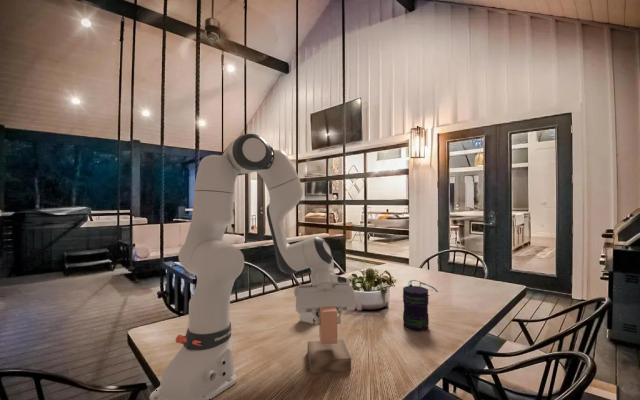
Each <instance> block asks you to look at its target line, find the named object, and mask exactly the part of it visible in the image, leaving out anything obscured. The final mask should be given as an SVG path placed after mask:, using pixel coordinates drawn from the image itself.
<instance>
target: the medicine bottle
mask: <svg viewBox="0 0 640 400" xmlns="http://www.w3.org/2000/svg"><path fill="white" fill-rule="evenodd" d="M316 316H317V317H318V318H319V312H316ZM299 321H300V322H303V323H306V324H307V323H308V324H311V325H315V324H316V323H315V320H314V318H313V317H312V315H311V312H309V313H299Z"/></svg>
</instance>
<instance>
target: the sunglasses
mask: <svg viewBox="0 0 640 400" xmlns="http://www.w3.org/2000/svg"><path fill="white" fill-rule="evenodd" d="M412 282H419V287H422V286H421V285H424V286H427V287H430V288H432V289H433V290H435V291H436V292H437V293H439V291H438V290H437V288H435V287H433V286H432V285H430V284H427V283H425V282H422V281H420V280H416V279H412V280H409V281H408V283H407V285H408V286H413V284H412ZM429 296H431V295H429V294H428V297H429Z"/></svg>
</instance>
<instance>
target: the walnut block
mask: <svg viewBox="0 0 640 400" xmlns="http://www.w3.org/2000/svg"><path fill="white" fill-rule="evenodd" d="M307 358H308V364H309V371H310V374H323V373H333V372H334V373H335V372H348V371H350V372H351V371H352V358H351V355H350V353H349V350H348V347H347V346H346V343H345V340H344V339H337V344H323V345H321V341H320V340H313V341H307Z"/></svg>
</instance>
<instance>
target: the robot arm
mask: <svg viewBox="0 0 640 400" xmlns="http://www.w3.org/2000/svg"><path fill="white" fill-rule="evenodd" d="M254 172H255V173H256V174H258V175H259V176H260V177H261V178H262V179H263V181H264V183H265V187H266V189H267V191H268V194H269V195H268V196H269V203H268V204H267V206H266V217H267V223H268V226H269V230H270V234H271V235H270V236H271V238H272V241H273V247H274V251H275V258H276V264H277V267H278V269H279V270H280V271H281V272H283V273H284V274H287V275H290V276H292V275H294V274H296V273H298V272H300V271H304V270H306V269H310V271H311V273H310V284H299V285H298V286H297V285H296V287H295V288H293V289H294V290H293V294H294V297H295V311H296V312H297V313H298V314H300V313H309V312H311V315H312V317H313V318H314V320H315V323H314V324H315V326H319V325H320V324H321V321H320V318H318V317H317V316H316V312H319V308H320V307H331V306H335V308H336V310H337V325H341V323H342V319H341V317H342V315H343V312H344V311H355V309H356V308H357V305H358V302H357V301H358V300H357V297H356V293H355V290H354V288H353V286H352V285H350V283H351V281H350V278H349V277H346V276H342V275H338V274H336V273H335V270H334V269H335V268H334V267H335V263H334V257H333V254H332V249H331V246H330V244H329V242H328V241H327V240H325V239H324V238H322V237H320V236H317V235H316V236H313V237H309V238H305V239H304V240H300V241H297V242H295V243H292V244H290V243H288V240H287V235H286V231H285V227H284V218H285V217H286V215H287V214H289V212H291V211H292V210H293V209H294V208H295V207H296V206H297V205H298V204H299V203H300V202H301V199H302V197H303V193H304V192H303V191H304V190H303V185H302V183H301V180H300V177H299V175H298V172H297V170H296V169H295V166H294V165H293V163H292V161H291V159H290V158H289V157H288V155H287V153H286V152H284V150H280V149H274V148H273V147H272V146H271V145H270V144H269V143H268V142H267V141H266V140H265V139H264V138H263V137H262V136H260V135H258V134H256V133H245V134H242V135H240V136H239V137H237V138H236V139H233V141H232V142H230V144H229V145H227V147H226V148H225V149H224V151H222V153H221V155H220V154H210V155H207V156H204V157H203V158H202V159H201V160H200V162H199V164H198V168H197V171H196V177H195V181H194V182H195V184H194V191H193V205H192V213H191V220H190V221H191V222H190V224H189V228H188V231H187V234H186V238H185V241H184V244H183V245H182V246H181V247H180V249H179V251H178V261H179V263H180V266H181V267H183V269H184V270H185V271H186V272H187V273H189V274H192V275H194V276H196V286H195V288H194V289H195V290H194V292H193V295H192V296H191V297H190V299H189V301H188V327H187V330H186V333H185V335H182V334H178V335H177V336H176V338H175V339H174V340H175V343H176V344H181V345H182V347H181V348H180V349H179V350H178V352H177V353H176V355H175V356H174V357H173V358H172V359H171V360H170V362H169V363H168V365H167V366H166V367H165V369H164V370H163V372H162V374H161V379H160V385H159V386H158V387H157V388H155V390H153V391H152V392H151V393H150V395H149V400H209V399H210V400H211V399H213V398H215V397H216V396H218V395H219V394H221V393H222V392H223V391H226V390H227V389H229V388H230V387H231V386H233V385H235V384H237V382H238V377H237V374H236V368H235V367H236V366H235V363H234V354H233V348H232V343H231V337H232V323H231V321H230V320H231V319H230V315H231V313H230V312H231V295H232V290H233V286H234V283H235V281H236V280H237V278H238V277H239V276H240V275H241V273H242V272H243V269H244V267H245V257H244V256H245V255H244V254H243V252H242V250H241V249H239V247H236V246H235V245H234V244H232V243H229V242H227V241H223V238H224V235H225V233H226V229H227V227H228V225H229V224H231V222H232V220H233V213H234V199H235V197H234V196H235V183H236V179H237V178H238V176H244V175H247V174H251V173H254ZM156 390H157V391H156Z"/></svg>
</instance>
